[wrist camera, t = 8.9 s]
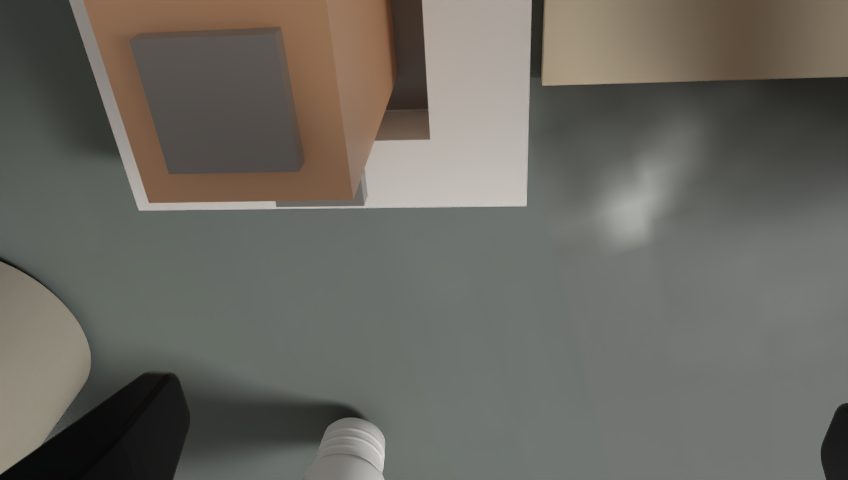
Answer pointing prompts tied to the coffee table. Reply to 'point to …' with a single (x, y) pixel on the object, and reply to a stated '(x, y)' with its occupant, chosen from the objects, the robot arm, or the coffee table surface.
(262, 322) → the coffee table surface
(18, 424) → the travel mug
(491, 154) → the socket block
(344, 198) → the plug
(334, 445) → the lightbulb
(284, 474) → the coffee table surface
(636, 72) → the tray slab
